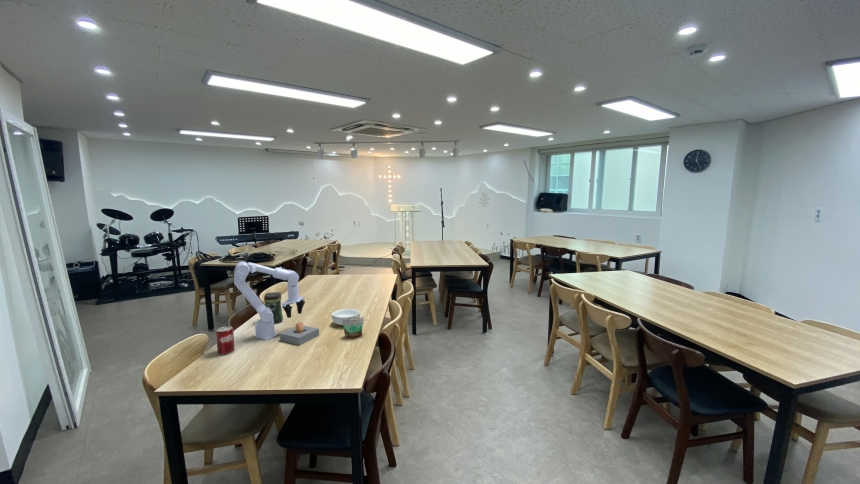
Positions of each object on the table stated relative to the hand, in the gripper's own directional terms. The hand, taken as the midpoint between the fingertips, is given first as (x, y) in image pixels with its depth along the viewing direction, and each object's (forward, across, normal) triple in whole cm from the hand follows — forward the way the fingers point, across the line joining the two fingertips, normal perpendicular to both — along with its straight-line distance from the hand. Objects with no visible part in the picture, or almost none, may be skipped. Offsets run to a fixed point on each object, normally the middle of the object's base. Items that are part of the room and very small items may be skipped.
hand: (294, 315), depth 187 cm
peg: (+9, -6, -10) cm, 15 cm away
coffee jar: (+10, +6, +24) cm, 27 cm away
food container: (+10, +8, -36) cm, 38 cm away
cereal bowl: (+10, +22, -19) cm, 31 cm away
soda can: (+10, -34, +10) cm, 37 cm away
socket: (+9, -6, -10) cm, 15 cm away
